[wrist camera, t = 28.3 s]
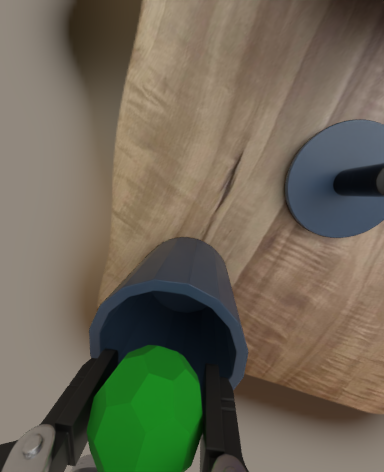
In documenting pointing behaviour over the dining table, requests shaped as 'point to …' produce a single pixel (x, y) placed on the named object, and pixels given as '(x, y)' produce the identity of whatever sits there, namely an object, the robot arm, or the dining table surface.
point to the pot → (176, 310)
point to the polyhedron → (147, 414)
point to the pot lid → (339, 180)
